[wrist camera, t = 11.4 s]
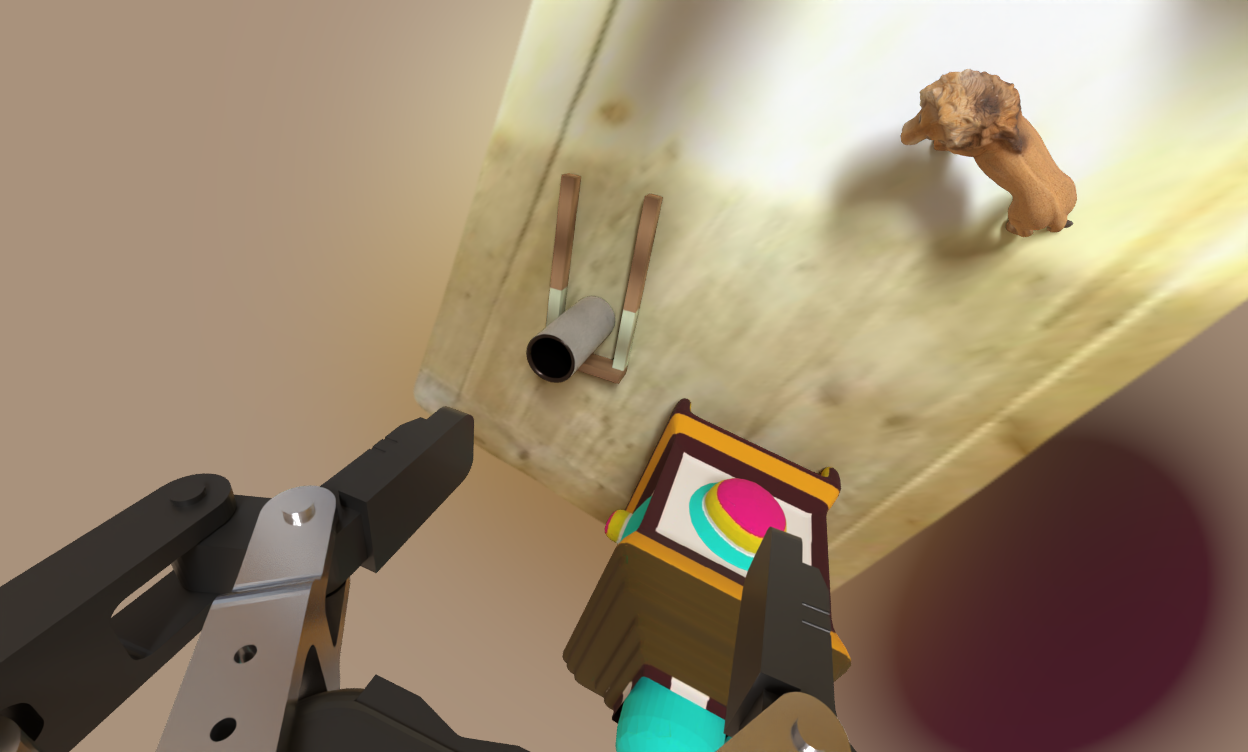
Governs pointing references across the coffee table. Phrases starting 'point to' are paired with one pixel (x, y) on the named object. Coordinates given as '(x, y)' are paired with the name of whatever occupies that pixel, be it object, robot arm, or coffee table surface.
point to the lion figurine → (996, 146)
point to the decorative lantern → (691, 581)
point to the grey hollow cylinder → (570, 339)
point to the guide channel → (640, 263)
